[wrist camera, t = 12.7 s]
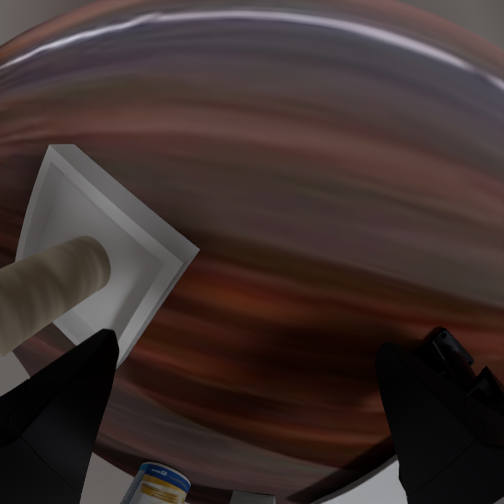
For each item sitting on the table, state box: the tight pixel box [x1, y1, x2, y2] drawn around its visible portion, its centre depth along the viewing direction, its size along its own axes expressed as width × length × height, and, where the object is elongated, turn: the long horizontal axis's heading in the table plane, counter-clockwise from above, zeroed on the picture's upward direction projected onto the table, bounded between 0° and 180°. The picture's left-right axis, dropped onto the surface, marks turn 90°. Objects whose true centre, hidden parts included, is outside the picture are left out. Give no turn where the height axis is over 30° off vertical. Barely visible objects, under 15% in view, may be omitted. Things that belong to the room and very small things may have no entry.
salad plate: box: [310, 454, 408, 504], centre depth 26 cm, size 21×21×3 cm
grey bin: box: [15, 144, 200, 369], centre depth 22 cm, size 15×15×3 cm
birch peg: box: [0, 236, 111, 356], centre depth 17 cm, size 5×5×12 cm
